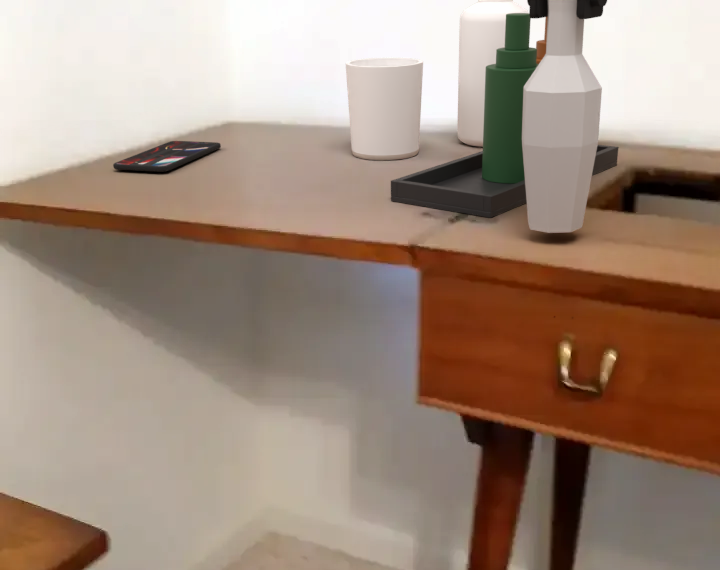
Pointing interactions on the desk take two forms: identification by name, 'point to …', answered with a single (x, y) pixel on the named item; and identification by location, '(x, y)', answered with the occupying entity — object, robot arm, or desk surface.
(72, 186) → the desk surface
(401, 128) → the mug
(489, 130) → the green bottle
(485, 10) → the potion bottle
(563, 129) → the low poly bottle
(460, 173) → the tray
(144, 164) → the smartphone
